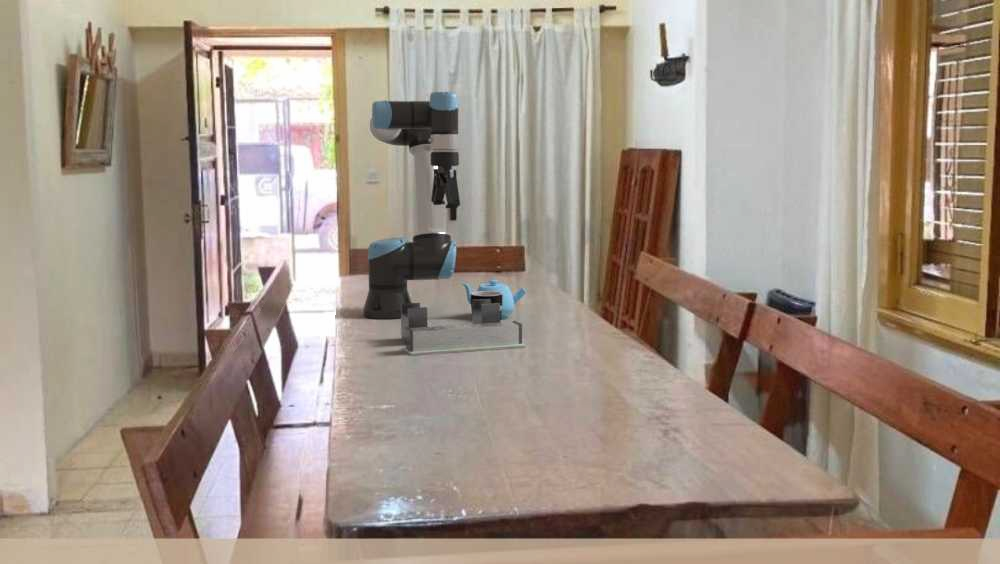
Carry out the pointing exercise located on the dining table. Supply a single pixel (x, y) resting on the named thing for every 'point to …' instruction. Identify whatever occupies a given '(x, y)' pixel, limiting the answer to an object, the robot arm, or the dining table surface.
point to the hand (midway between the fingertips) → (445, 230)
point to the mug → (488, 297)
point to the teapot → (504, 289)
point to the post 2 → (485, 311)
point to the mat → (464, 349)
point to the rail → (463, 336)
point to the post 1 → (412, 317)
